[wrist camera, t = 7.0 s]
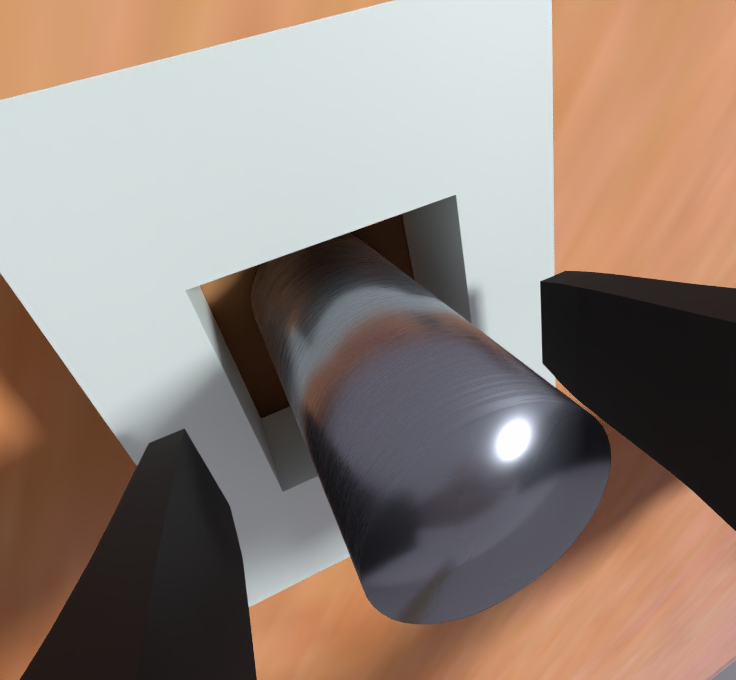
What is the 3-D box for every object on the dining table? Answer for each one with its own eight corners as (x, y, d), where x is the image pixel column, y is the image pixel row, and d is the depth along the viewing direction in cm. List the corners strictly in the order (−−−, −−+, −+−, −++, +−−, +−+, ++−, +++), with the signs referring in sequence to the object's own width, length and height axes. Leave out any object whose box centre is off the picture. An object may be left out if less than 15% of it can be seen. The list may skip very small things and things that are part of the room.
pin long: (391, 331, 14) (598, 551, 7) (272, 372, 13) (384, 662, 6) (371, 211, 12) (626, 359, 5) (232, 249, 11) (331, 480, 5)
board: (498, 398, 17) (556, 452, 14) (226, 524, 15) (239, 611, 12) (459, -9, 10) (551, -40, 8) (-25, 115, 8) (-103, 125, 6)
